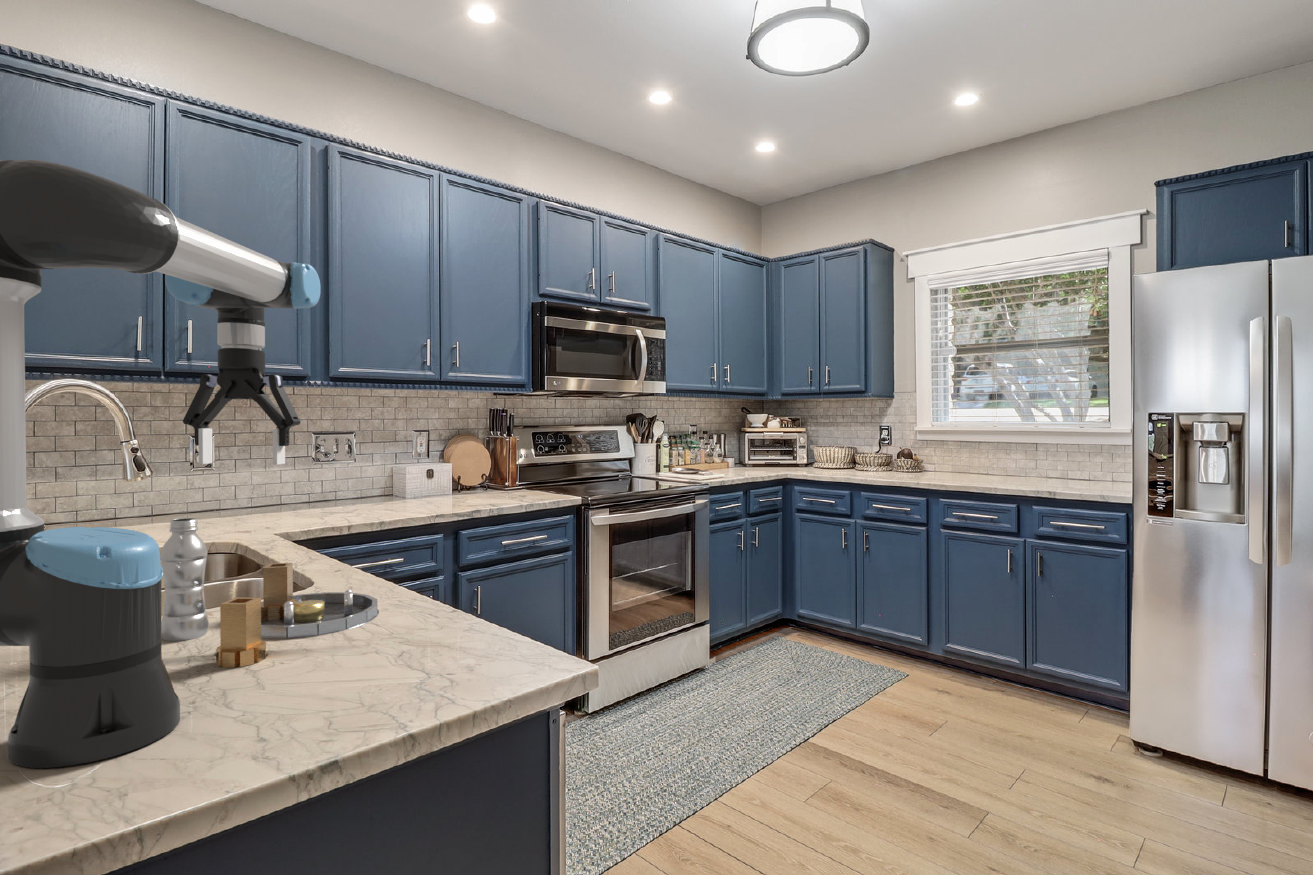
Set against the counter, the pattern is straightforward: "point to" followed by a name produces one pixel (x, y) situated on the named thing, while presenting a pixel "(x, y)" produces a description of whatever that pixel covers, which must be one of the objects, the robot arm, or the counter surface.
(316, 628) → the bowl
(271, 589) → the tan square tube
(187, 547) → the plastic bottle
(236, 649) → the hollow wooden square post
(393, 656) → the counter surface
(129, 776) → the counter surface
